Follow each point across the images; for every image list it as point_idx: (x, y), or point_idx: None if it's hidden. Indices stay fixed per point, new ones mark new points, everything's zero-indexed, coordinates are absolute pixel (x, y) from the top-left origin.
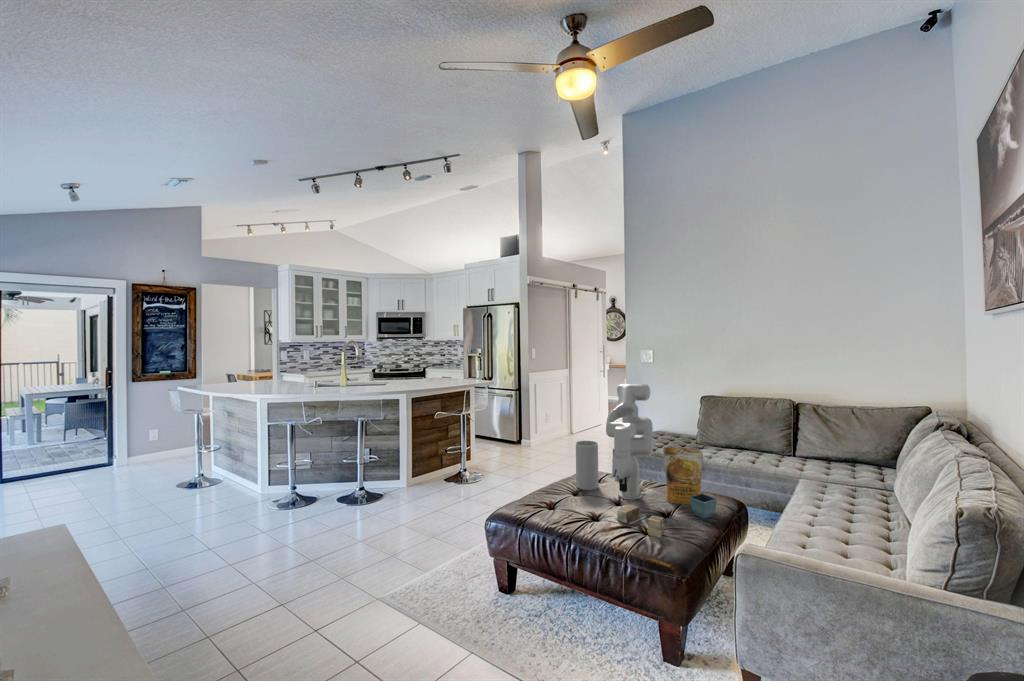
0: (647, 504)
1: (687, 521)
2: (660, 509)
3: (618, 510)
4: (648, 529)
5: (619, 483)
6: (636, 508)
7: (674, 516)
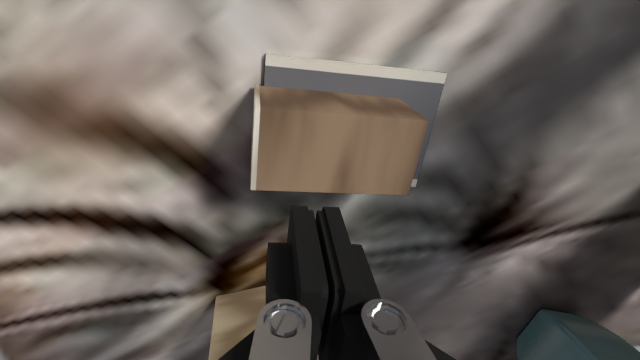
0: (608, 87)
1: (463, 317)
2: (555, 180)
3: (254, 117)
4: (213, 319)
5: (299, 279)
6: (377, 192)
7: (492, 263)
